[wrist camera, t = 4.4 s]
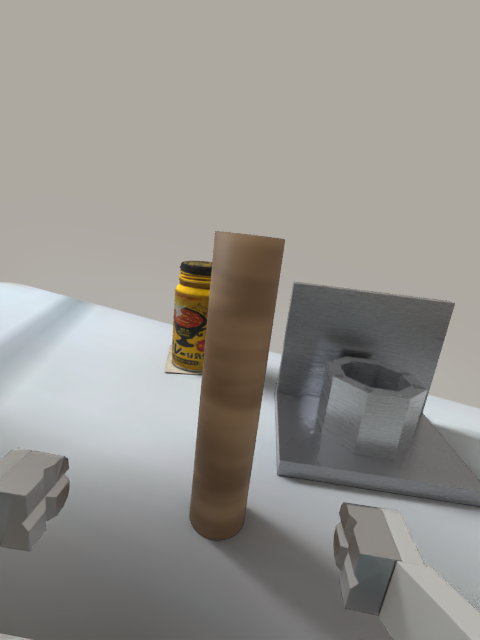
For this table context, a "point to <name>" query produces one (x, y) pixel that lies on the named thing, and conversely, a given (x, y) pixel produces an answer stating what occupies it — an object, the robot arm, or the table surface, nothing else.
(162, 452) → the table surface
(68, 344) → the table surface
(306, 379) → the cup bracket
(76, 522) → the table surface
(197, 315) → the condiment
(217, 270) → the wooden cylinder rod
